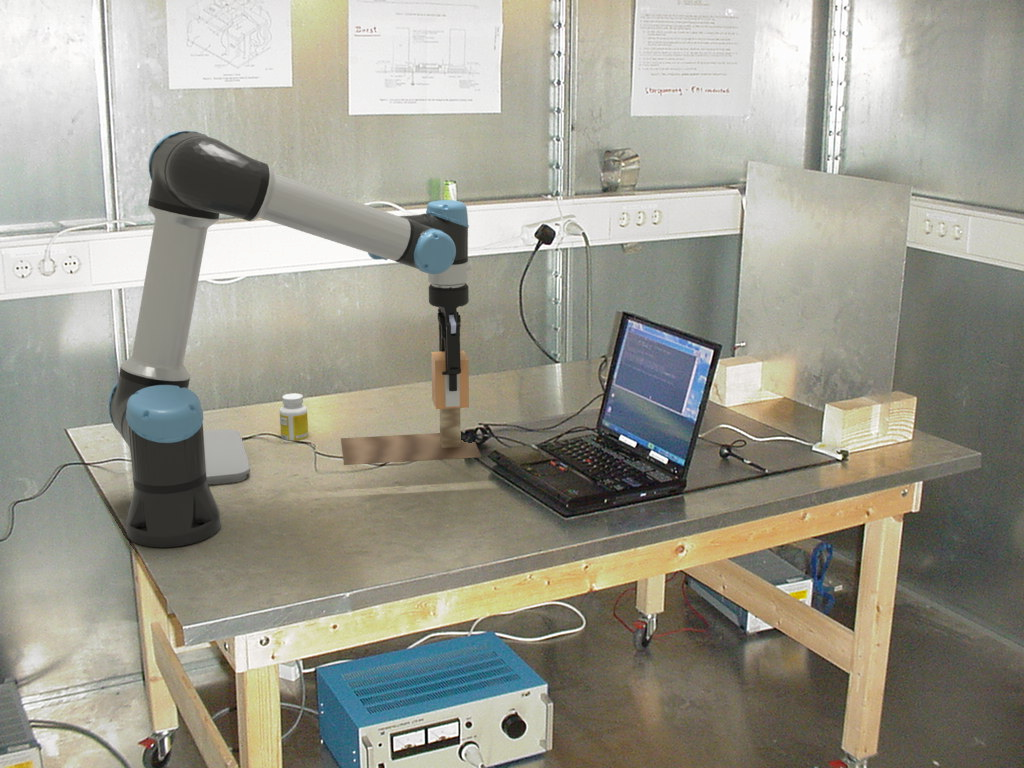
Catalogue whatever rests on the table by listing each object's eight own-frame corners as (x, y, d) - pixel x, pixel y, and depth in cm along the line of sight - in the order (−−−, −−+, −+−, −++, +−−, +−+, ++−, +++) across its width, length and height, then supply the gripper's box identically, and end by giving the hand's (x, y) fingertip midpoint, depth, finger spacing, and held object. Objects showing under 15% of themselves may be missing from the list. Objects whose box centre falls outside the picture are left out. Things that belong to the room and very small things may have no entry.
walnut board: (344, 472, 230) (343, 464, 230) (341, 445, 245) (340, 438, 244) (481, 464, 235) (481, 457, 234) (470, 438, 249) (470, 431, 248)
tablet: (239, 438, 250) (238, 427, 249) (252, 483, 226) (251, 472, 225) (156, 446, 245) (155, 435, 244) (160, 493, 221) (159, 481, 221)
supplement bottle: (311, 438, 248) (309, 392, 245) (304, 448, 243) (302, 400, 240) (285, 437, 249) (283, 391, 246) (277, 447, 244) (275, 399, 241)
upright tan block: (435, 409, 235) (434, 360, 232) (432, 399, 241) (431, 351, 238) (469, 407, 236) (468, 359, 233) (464, 397, 242) (464, 350, 239)
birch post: (442, 447, 239) (441, 408, 237) (440, 441, 242) (439, 403, 240) (460, 446, 240) (460, 407, 237) (458, 440, 243) (457, 402, 241)
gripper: (475, 294, 223) (476, 415, 230) (461, 272, 241) (462, 384, 248) (434, 295, 222) (436, 417, 229) (423, 273, 240) (425, 386, 247)
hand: (450, 400), depth 238 cm, fingers closed on upright tan block, 6 cm apart
